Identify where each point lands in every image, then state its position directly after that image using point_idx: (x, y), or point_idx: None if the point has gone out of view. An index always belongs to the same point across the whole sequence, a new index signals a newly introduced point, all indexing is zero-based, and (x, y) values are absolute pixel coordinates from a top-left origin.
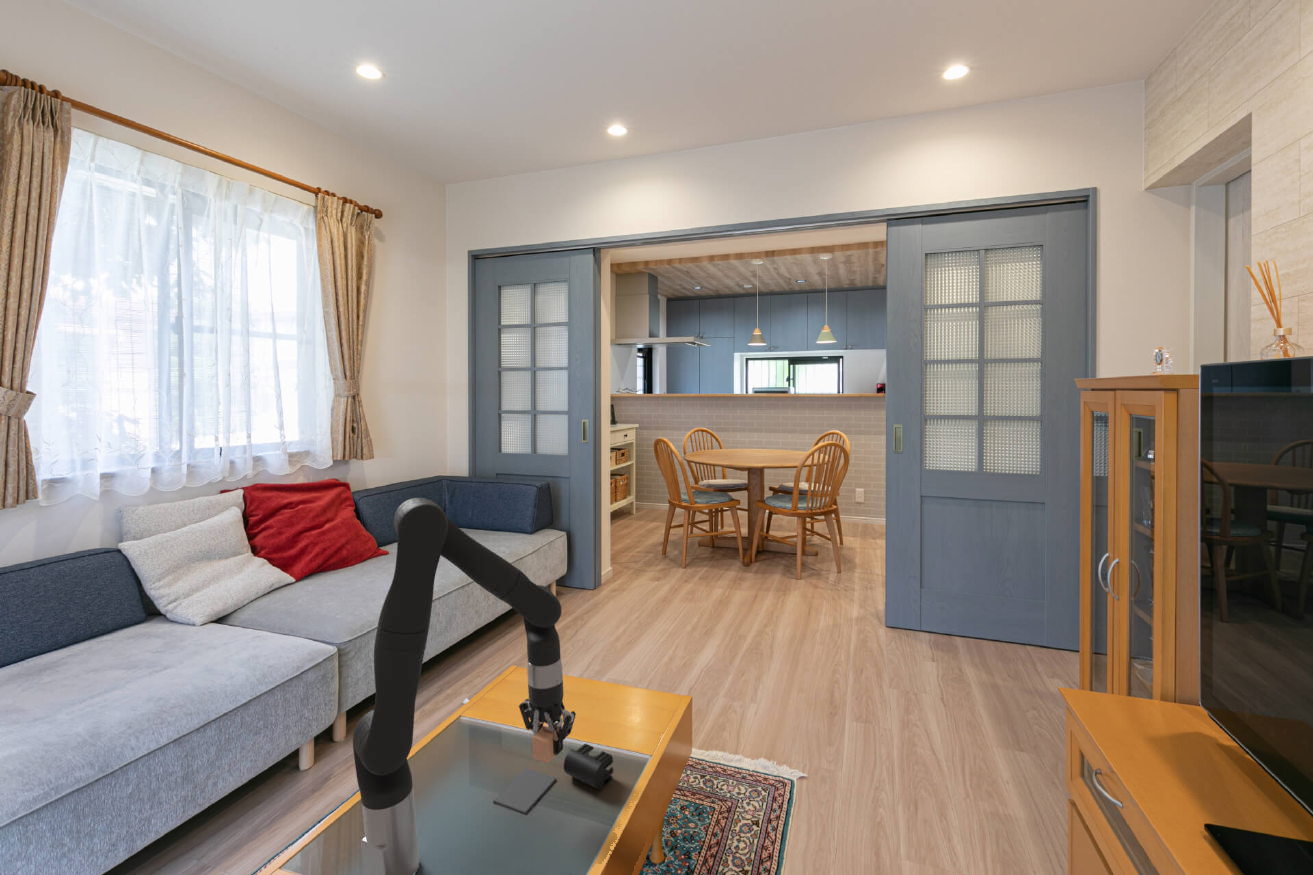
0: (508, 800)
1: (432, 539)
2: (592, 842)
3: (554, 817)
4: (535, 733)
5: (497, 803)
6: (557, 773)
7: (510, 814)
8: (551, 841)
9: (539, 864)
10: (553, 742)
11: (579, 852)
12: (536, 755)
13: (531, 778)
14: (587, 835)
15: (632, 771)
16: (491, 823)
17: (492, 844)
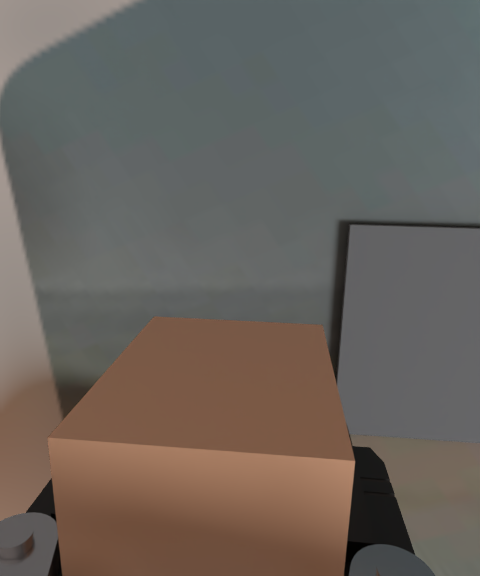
0: (462, 255)
1: None
2: (18, 195)
3: (222, 251)
4: (375, 557)
5: None
6: None
7: (410, 196)
8: (160, 136)
9: (133, 8)
10: None
11: (31, 132)
12: (280, 335)
13: (433, 399)
14: (54, 218)
15: None
16: (466, 117)
17: (389, 11)
